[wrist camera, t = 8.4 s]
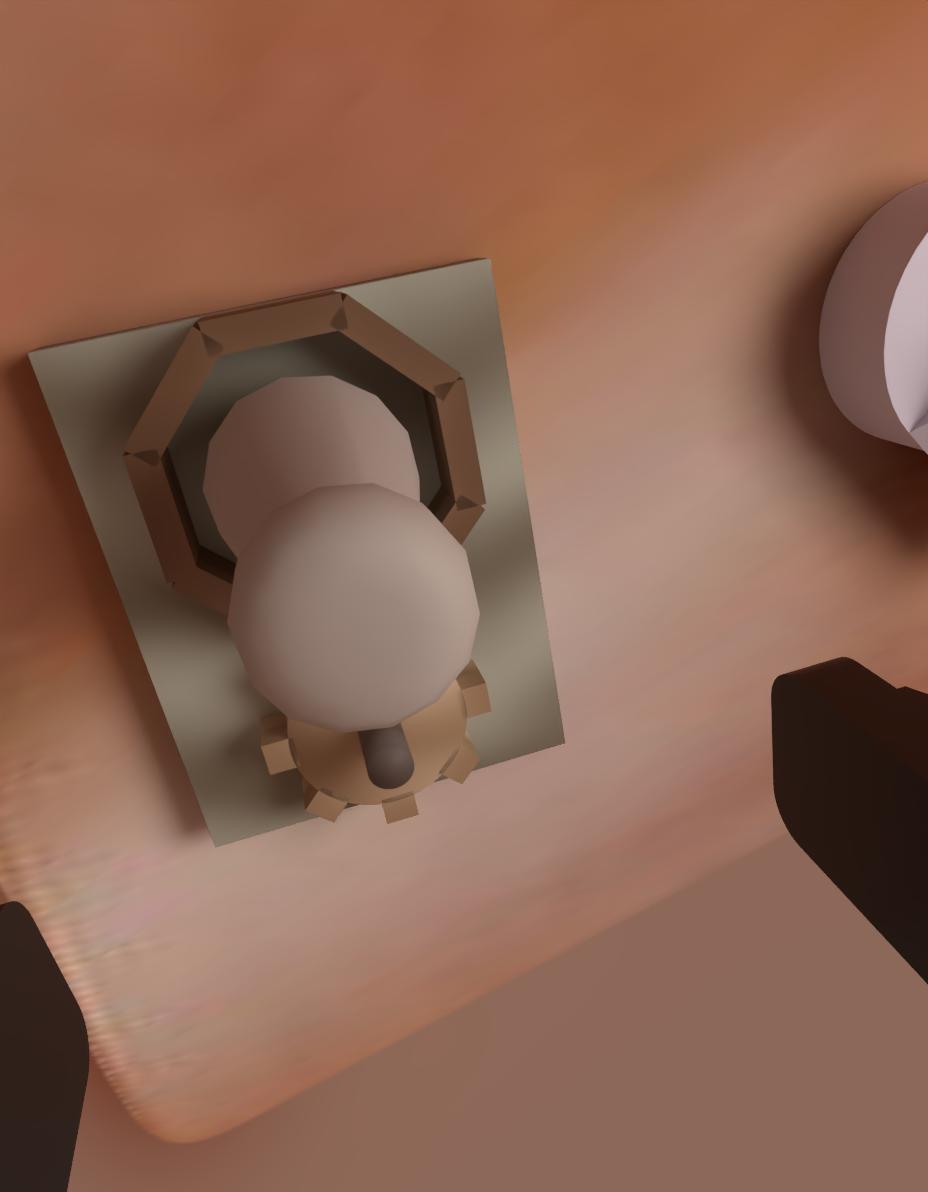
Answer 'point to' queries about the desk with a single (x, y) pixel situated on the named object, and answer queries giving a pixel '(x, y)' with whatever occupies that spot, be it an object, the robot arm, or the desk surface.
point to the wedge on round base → (882, 324)
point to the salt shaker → (336, 558)
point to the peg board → (207, 564)
